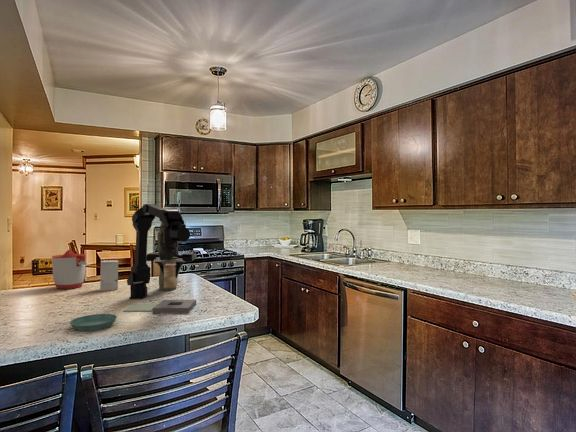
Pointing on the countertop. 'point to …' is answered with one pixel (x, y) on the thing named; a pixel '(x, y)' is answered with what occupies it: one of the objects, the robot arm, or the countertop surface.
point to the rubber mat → (140, 308)
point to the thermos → (173, 261)
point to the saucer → (93, 322)
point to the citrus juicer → (69, 270)
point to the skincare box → (109, 275)
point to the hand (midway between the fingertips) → (170, 277)
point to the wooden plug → (170, 276)
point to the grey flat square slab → (174, 306)
